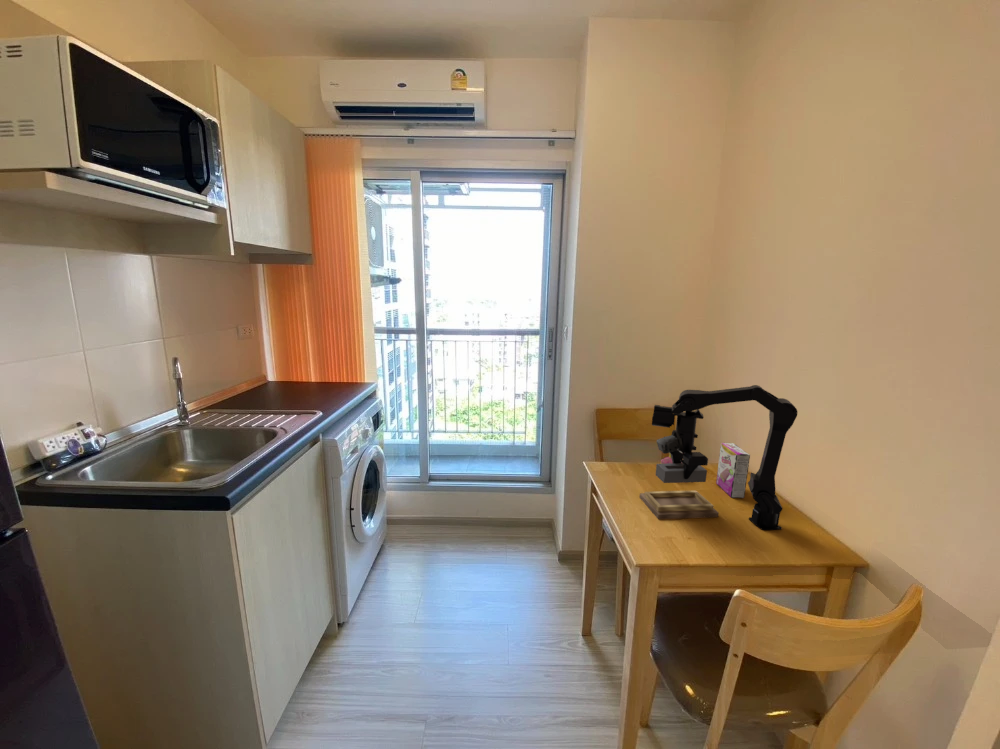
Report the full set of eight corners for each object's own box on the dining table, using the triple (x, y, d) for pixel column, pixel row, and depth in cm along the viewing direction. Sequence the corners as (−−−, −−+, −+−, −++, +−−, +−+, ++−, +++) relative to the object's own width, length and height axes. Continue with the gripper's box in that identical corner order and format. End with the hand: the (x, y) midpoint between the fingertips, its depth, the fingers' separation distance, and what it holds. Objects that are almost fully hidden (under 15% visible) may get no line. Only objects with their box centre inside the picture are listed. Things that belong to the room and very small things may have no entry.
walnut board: (694, 495, 145) (695, 488, 144) (718, 517, 131) (719, 508, 131) (639, 497, 143) (640, 489, 143) (657, 518, 130) (658, 510, 129)
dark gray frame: (695, 473, 139) (696, 462, 138) (705, 481, 133) (707, 470, 132) (655, 474, 138) (656, 463, 137) (664, 483, 132) (665, 471, 131)
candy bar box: (714, 483, 155) (720, 442, 152) (728, 484, 155) (733, 442, 152) (730, 498, 144) (736, 454, 141) (745, 498, 144) (751, 454, 141)
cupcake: (654, 472, 164) (657, 443, 162) (671, 469, 167) (674, 441, 165) (670, 481, 156) (673, 451, 154) (687, 478, 159) (690, 448, 157)
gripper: (648, 421, 141) (644, 463, 144) (676, 440, 122) (671, 488, 125) (679, 420, 142) (675, 463, 145) (711, 439, 123) (705, 487, 126)
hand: (680, 474), depth 135 cm, fingers closed on dark gray frame, 6 cm apart
